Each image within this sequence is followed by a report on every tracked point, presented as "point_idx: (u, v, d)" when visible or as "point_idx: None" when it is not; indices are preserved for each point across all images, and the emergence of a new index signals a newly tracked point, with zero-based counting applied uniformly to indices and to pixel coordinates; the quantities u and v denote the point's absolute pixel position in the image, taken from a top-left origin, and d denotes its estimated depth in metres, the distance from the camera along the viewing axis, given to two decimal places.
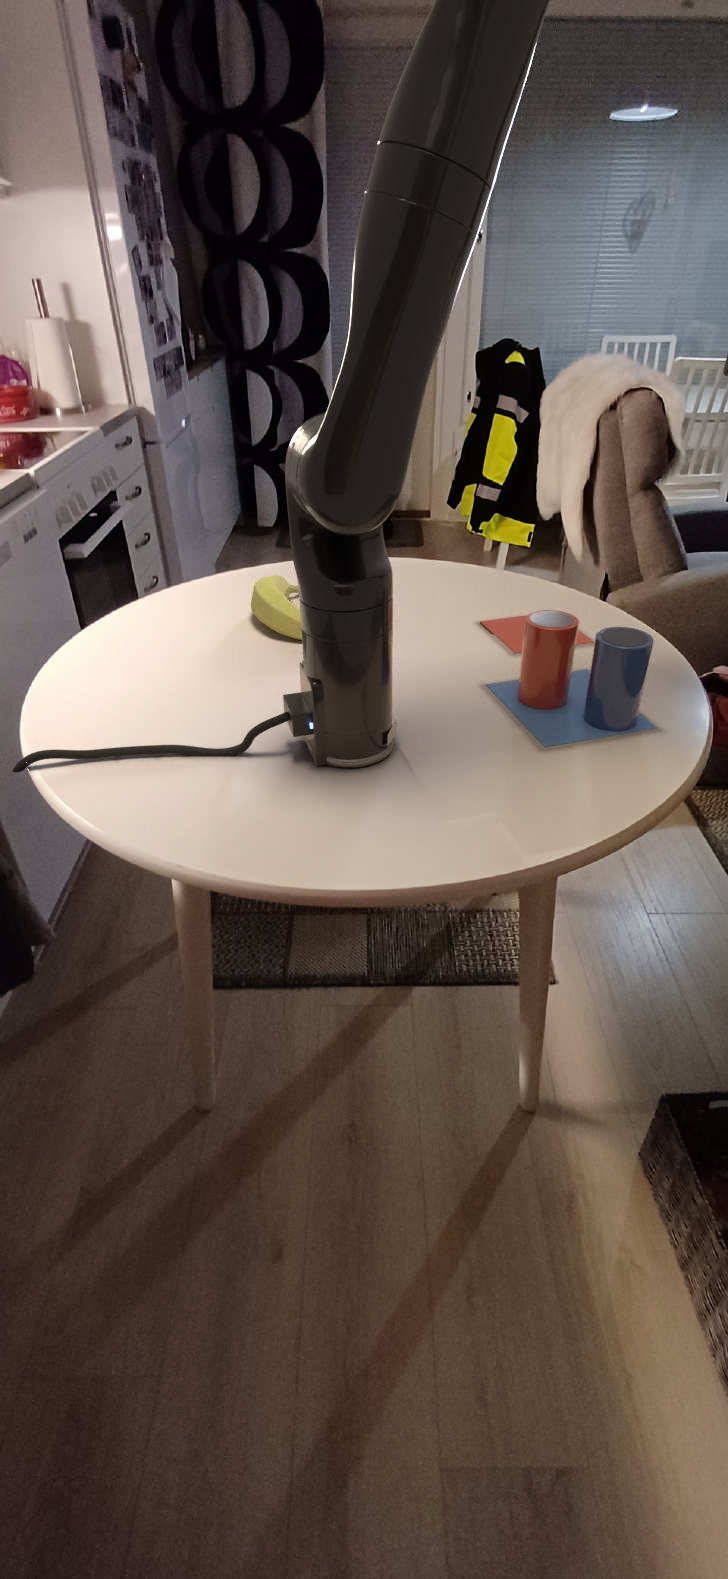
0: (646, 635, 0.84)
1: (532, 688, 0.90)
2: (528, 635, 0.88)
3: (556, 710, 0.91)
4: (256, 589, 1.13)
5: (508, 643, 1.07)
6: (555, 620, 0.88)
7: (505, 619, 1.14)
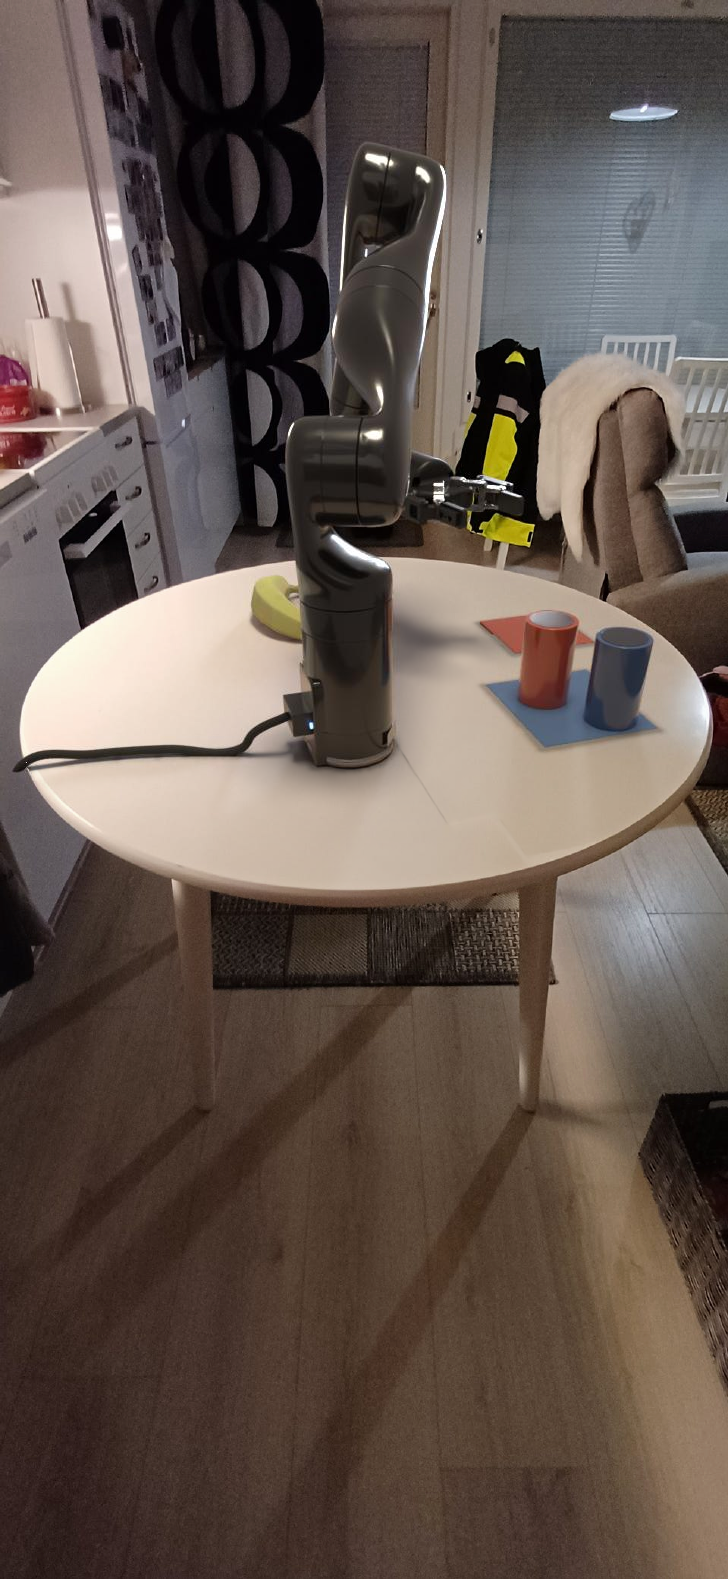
0: (646, 635, 0.84)
1: (532, 688, 0.90)
2: (528, 635, 0.88)
3: (556, 710, 0.91)
4: (256, 589, 1.13)
5: (508, 643, 1.07)
6: (555, 620, 0.88)
7: (505, 619, 1.14)
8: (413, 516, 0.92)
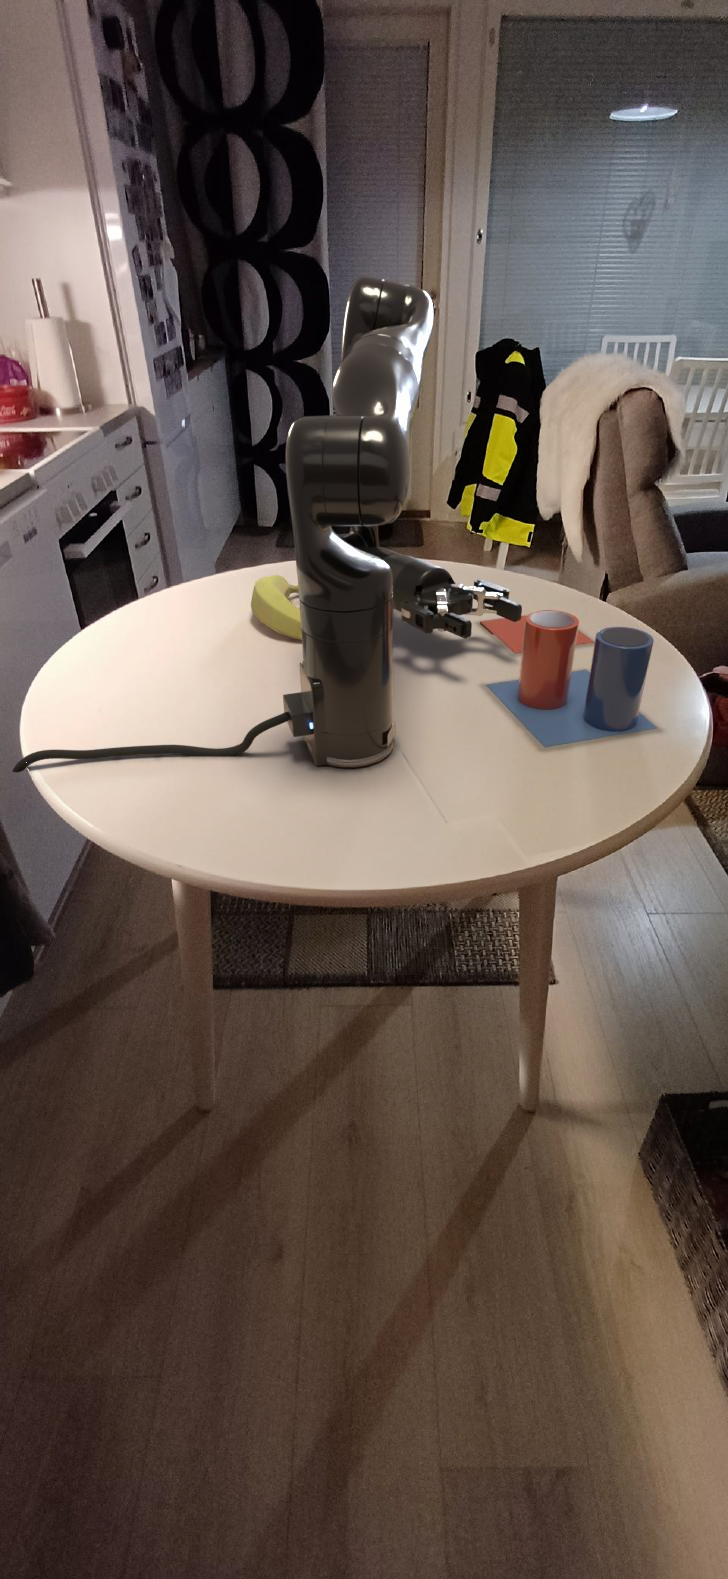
0: (646, 635, 0.84)
1: (532, 688, 0.90)
2: (528, 635, 0.88)
3: (556, 710, 0.91)
4: (256, 589, 1.13)
5: (508, 643, 1.07)
6: (555, 620, 0.88)
7: (505, 619, 1.14)
8: (419, 625, 0.97)
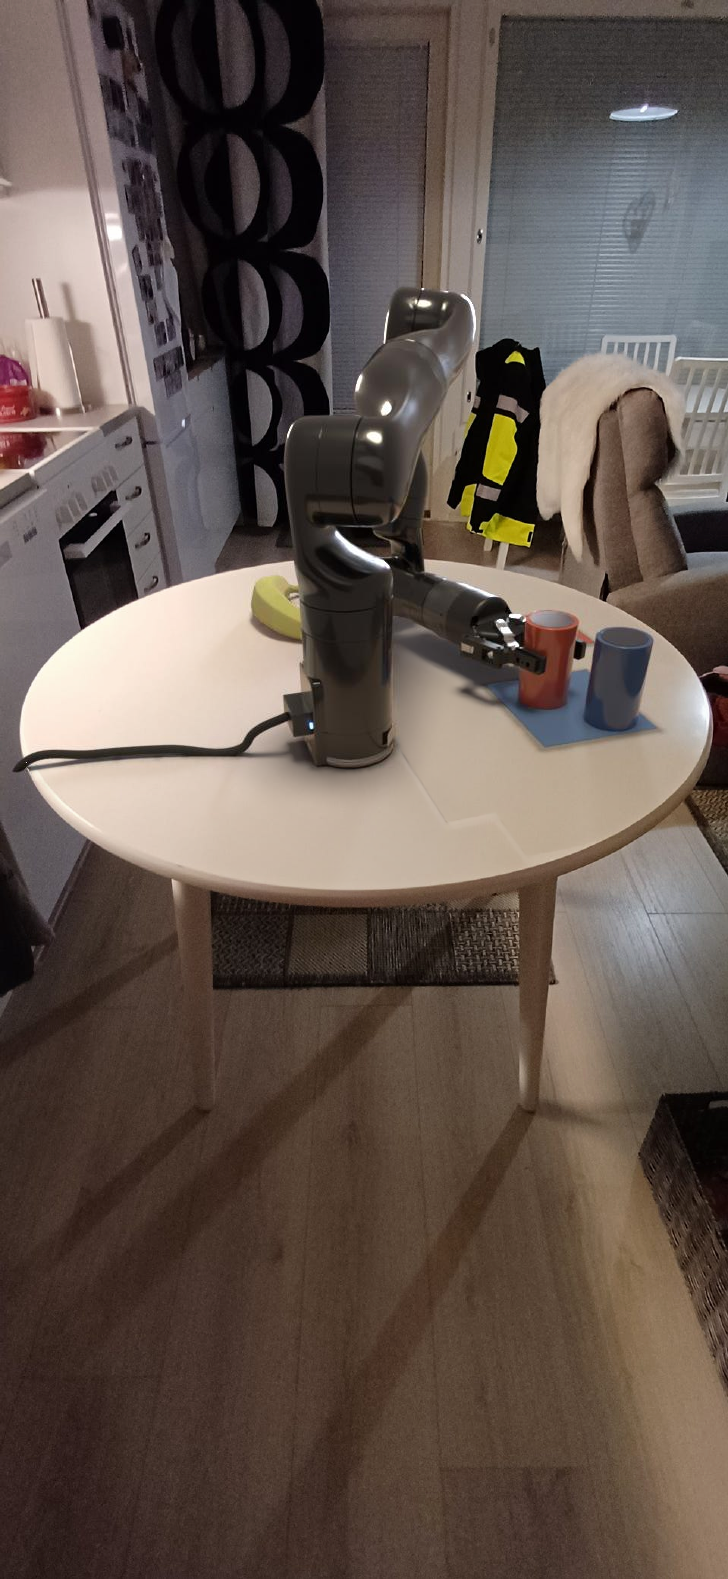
0: (646, 635, 0.84)
1: (532, 688, 0.90)
2: (528, 635, 0.88)
3: (556, 710, 0.91)
4: (256, 589, 1.13)
5: None
6: (555, 620, 0.88)
7: None
8: (485, 660, 0.90)
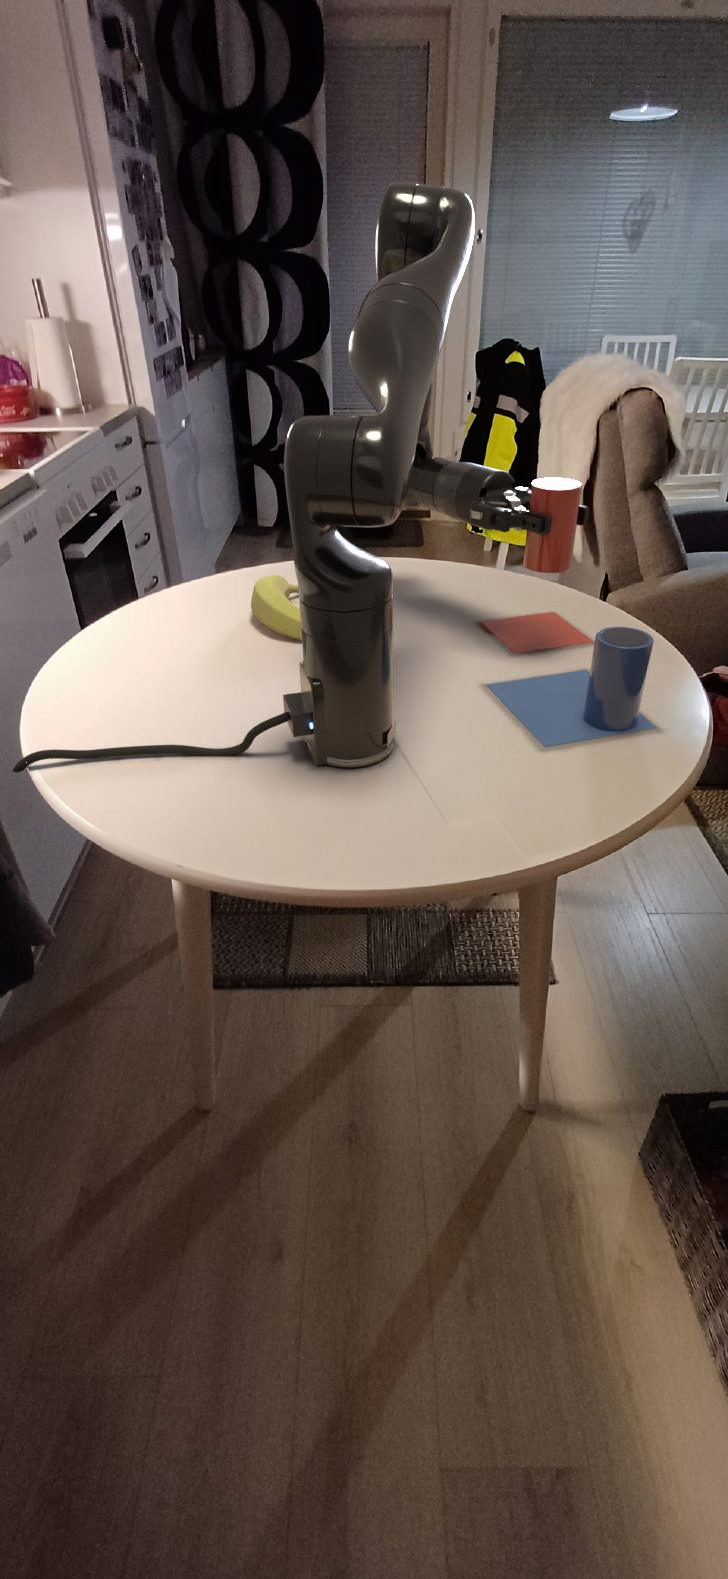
0: (646, 635, 0.84)
1: (537, 551, 0.96)
2: (534, 498, 0.93)
3: (556, 710, 0.91)
4: (256, 589, 1.13)
5: (508, 643, 1.07)
6: (560, 484, 0.93)
7: (505, 619, 1.14)
8: (493, 524, 0.96)
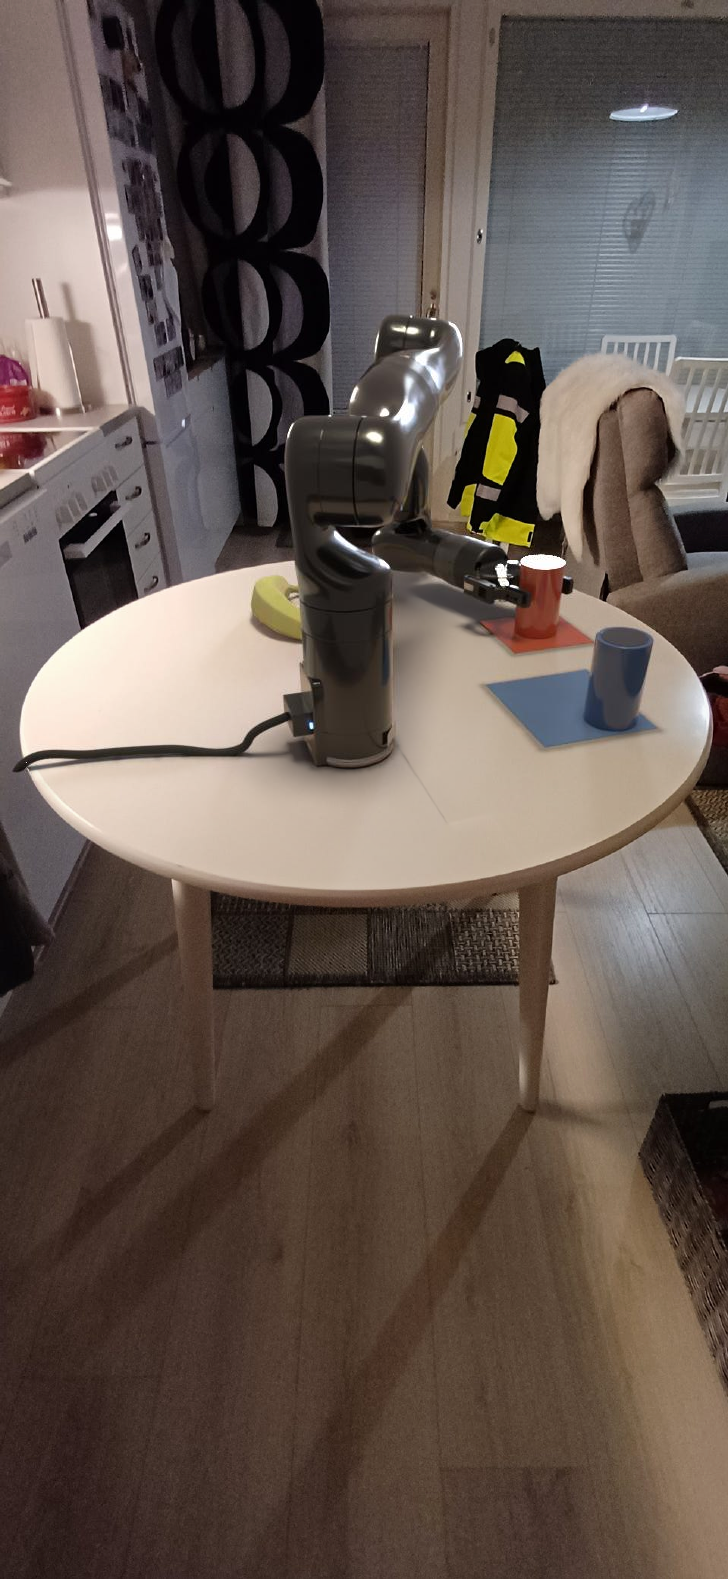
0: (646, 635, 0.84)
1: (526, 620, 1.07)
2: (522, 575, 1.05)
3: (556, 710, 0.91)
4: (256, 589, 1.13)
5: (508, 643, 1.07)
6: (546, 562, 1.05)
7: (505, 619, 1.14)
8: (481, 596, 1.08)
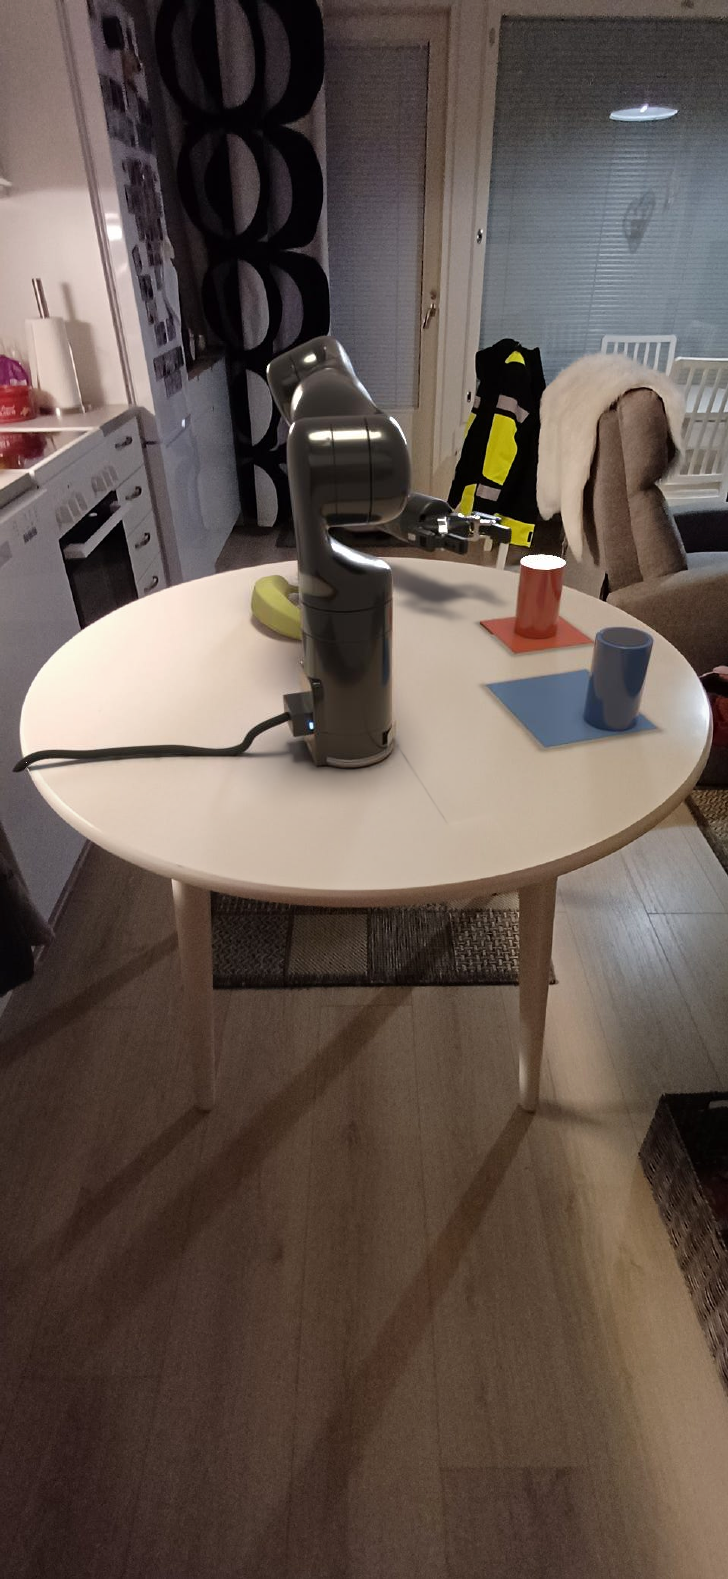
0: (646, 635, 0.84)
1: (526, 620, 1.07)
2: (522, 575, 1.05)
3: (556, 710, 0.91)
4: (256, 589, 1.13)
5: (508, 643, 1.07)
6: (546, 562, 1.05)
7: (505, 619, 1.14)
8: (422, 545, 1.13)
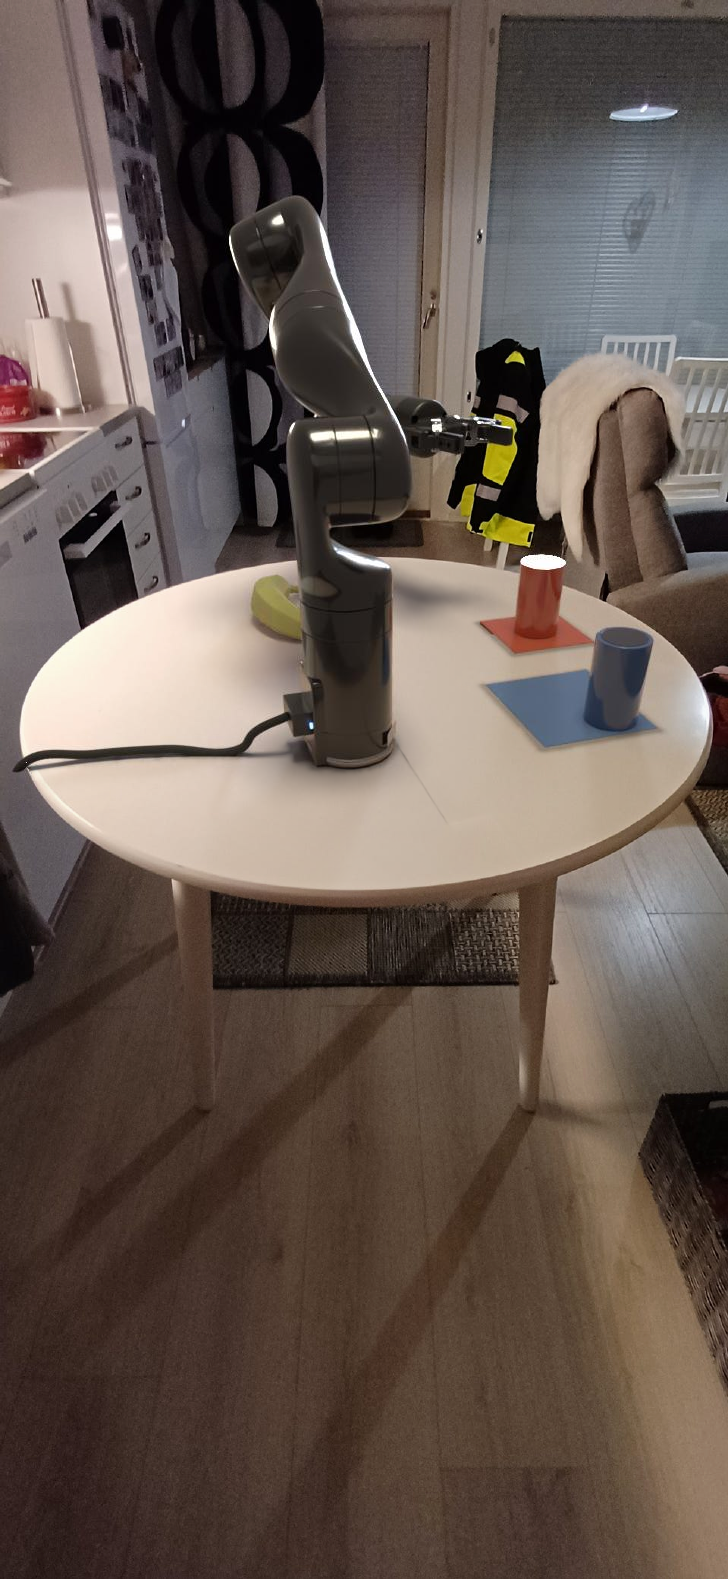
0: (646, 635, 0.84)
1: (526, 620, 1.07)
2: (522, 575, 1.05)
3: (556, 710, 0.91)
4: (256, 589, 1.13)
5: (508, 643, 1.07)
6: (546, 562, 1.05)
7: (505, 619, 1.14)
8: (414, 447, 1.02)
